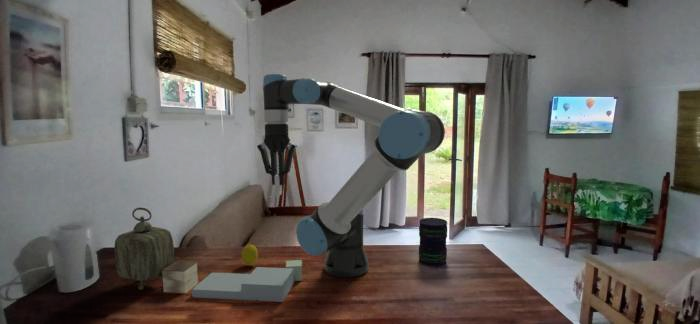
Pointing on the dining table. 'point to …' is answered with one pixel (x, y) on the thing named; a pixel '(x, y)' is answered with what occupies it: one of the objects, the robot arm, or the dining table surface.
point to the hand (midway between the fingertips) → (278, 194)
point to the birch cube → (180, 277)
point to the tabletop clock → (143, 251)
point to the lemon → (249, 254)
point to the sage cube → (295, 268)
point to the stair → (247, 285)
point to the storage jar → (432, 242)
